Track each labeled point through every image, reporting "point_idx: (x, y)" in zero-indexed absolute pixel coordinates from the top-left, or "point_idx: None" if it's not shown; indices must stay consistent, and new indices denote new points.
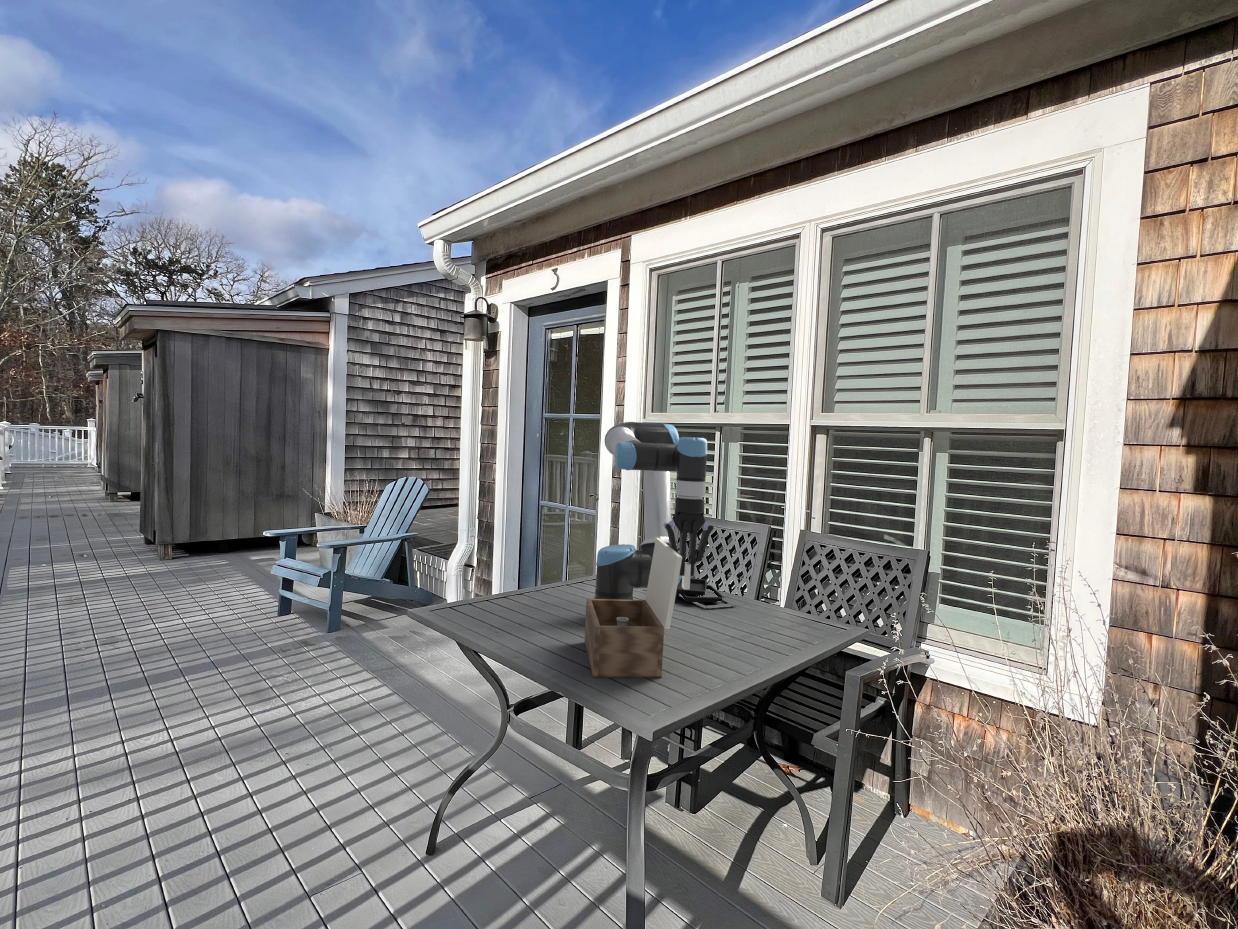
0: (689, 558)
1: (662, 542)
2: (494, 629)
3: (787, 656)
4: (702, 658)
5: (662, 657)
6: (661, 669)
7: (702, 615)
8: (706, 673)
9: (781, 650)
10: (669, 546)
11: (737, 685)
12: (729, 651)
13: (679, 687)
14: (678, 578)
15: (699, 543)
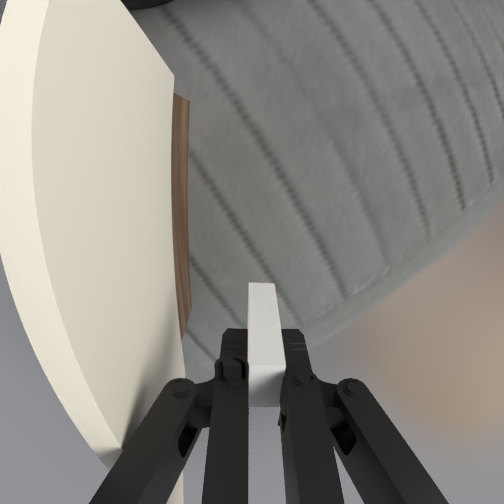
0: (290, 396)
1: (24, 289)
2: None
3: (460, 213)
4: (303, 212)
5: (184, 329)
6: (188, 315)
7: None
8: (280, 291)
9: (467, 181)
10: (120, 447)
11: (311, 337)
12: (379, 172)
13: (214, 341)
14: (182, 477)
15: (384, 476)
